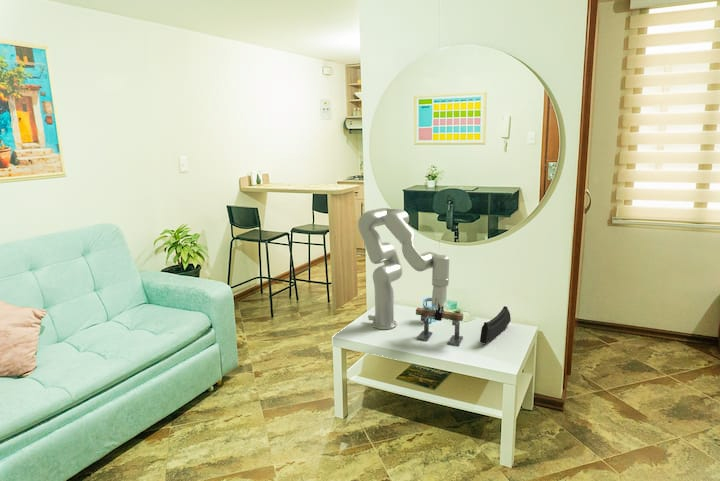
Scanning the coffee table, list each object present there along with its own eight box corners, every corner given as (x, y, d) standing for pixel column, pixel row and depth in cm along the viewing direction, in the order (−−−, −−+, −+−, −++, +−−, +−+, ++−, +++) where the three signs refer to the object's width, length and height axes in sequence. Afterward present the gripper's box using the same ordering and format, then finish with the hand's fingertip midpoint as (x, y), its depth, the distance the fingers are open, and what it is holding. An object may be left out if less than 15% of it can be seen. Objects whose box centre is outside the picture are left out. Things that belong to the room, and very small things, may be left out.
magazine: (484, 329, 219) (509, 294, 240) (477, 328, 221) (502, 293, 242) (487, 359, 227) (511, 322, 247) (481, 357, 229) (505, 321, 249)
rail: (415, 314, 232) (415, 309, 231) (417, 312, 235) (417, 307, 234) (461, 321, 223) (462, 316, 223) (463, 318, 226) (463, 313, 226)
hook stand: (417, 339, 232) (417, 311, 229) (422, 332, 240) (422, 305, 237) (459, 345, 224) (459, 317, 221) (463, 338, 232) (463, 310, 229)
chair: (420, 322, 253) (420, 300, 250) (424, 317, 260) (424, 295, 258) (434, 324, 250) (435, 302, 247) (438, 318, 258) (438, 297, 255)
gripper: (436, 276, 234) (435, 312, 238) (427, 285, 219) (426, 323, 223) (452, 277, 231) (450, 314, 235) (444, 287, 217) (442, 326, 221)
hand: (439, 318), depth 229 cm, fingers closed on rail, 3 cm apart
